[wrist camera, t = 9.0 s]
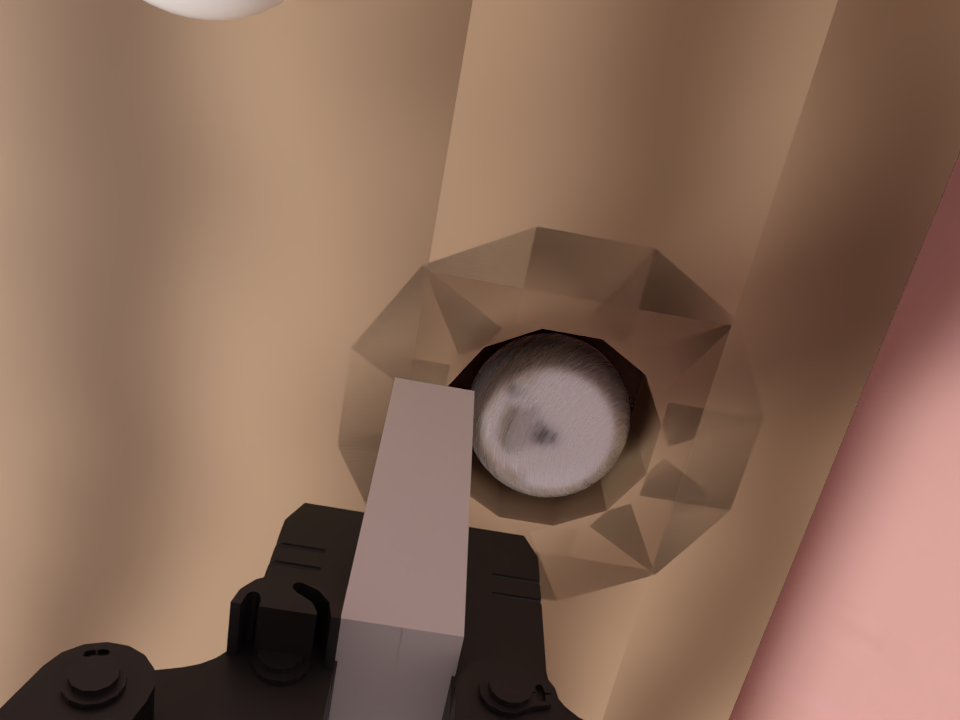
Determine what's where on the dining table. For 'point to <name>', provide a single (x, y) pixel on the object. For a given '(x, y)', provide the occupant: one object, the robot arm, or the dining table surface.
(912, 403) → the dining table surface
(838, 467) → the dining table surface
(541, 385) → the steel ball
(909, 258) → the board
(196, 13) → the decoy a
